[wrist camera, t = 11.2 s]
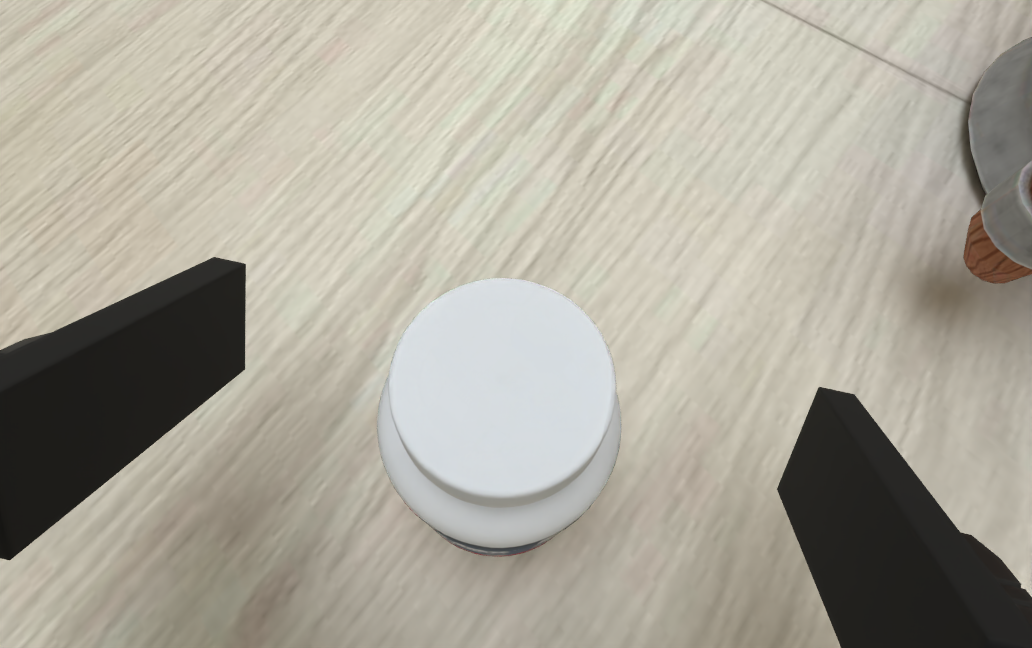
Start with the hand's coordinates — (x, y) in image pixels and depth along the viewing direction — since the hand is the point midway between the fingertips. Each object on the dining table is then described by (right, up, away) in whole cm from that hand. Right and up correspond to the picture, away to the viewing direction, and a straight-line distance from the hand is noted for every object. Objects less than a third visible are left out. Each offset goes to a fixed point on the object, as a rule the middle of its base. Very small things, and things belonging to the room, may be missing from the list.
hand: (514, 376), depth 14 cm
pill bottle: (0, -3, +5) cm, 6 cm away
